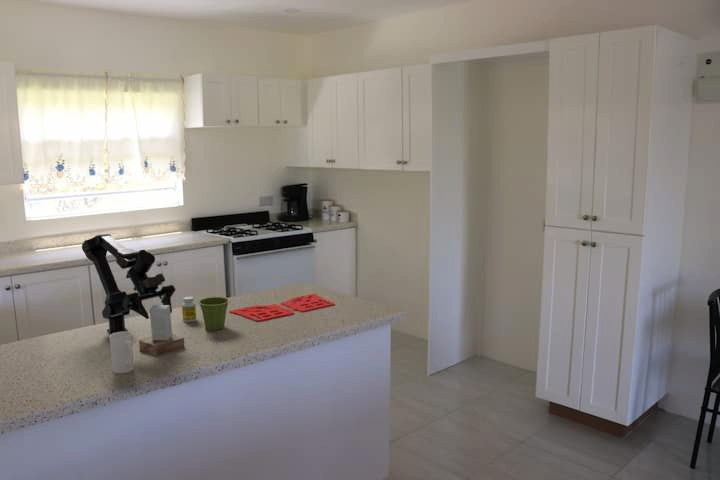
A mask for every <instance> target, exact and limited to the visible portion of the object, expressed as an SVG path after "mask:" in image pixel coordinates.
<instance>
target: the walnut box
mask: <svg viewBox="0 0 720 480" xmlns="http://www.w3.org/2000/svg"><path fill="white" fill-rule="evenodd" d="M138 343H139V344H138V345H139V346H138V347H139V351H142V350H143V352H145V353H149V354H152V355H154V356H156V357H159V356H162V355H166V354H169V353H171V352H175V351H177V350H181V349H183V348H185V338H184V337H182V336H178V335H176V334H173V333H172V337H171V338H170V339H169V340H152V335H151V336H149V337H145V338H142V339H140V340H138Z"/></svg>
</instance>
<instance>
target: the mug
mask: <svg viewBox="0 0 720 480" xmlns="http://www.w3.org/2000/svg"><path fill="white" fill-rule="evenodd" d="M132 334H133V333H132V332H130V331H128V332H126V331H124V332H116V333H113V334H109V336H108V337H109V346H110V356H111V364H112V366H111V367H112V372H113V373H114V374H126V373H130V372H131V371H134V349H133V335H132Z"/></svg>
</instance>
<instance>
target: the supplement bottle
mask: <svg viewBox="0 0 720 480" xmlns="http://www.w3.org/2000/svg"><path fill="white" fill-rule="evenodd" d="M182 301H183V303H182V305H181V310H182V311H181V312H182V320H183V322H185V323H191V322H195V321H197V309H196V306H197V305H196V302H194V297H193V296H185V297H183V298H182Z"/></svg>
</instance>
